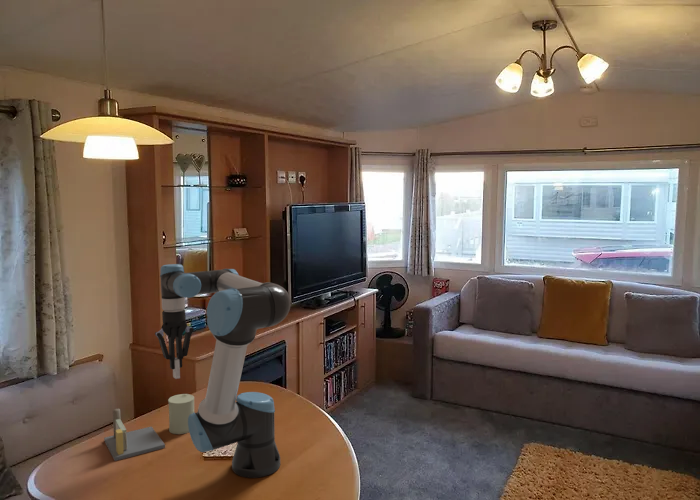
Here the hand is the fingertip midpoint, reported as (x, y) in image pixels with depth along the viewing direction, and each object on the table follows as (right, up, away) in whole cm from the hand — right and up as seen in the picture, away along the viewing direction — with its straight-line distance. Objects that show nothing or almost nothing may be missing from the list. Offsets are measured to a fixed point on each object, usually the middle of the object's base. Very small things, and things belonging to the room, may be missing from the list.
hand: (176, 377), depth 184 cm
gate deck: (-15, -23, +1) cm, 27 cm away
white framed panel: (-18, -22, -2) cm, 28 cm away
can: (-2, -22, +13) cm, 26 cm away
